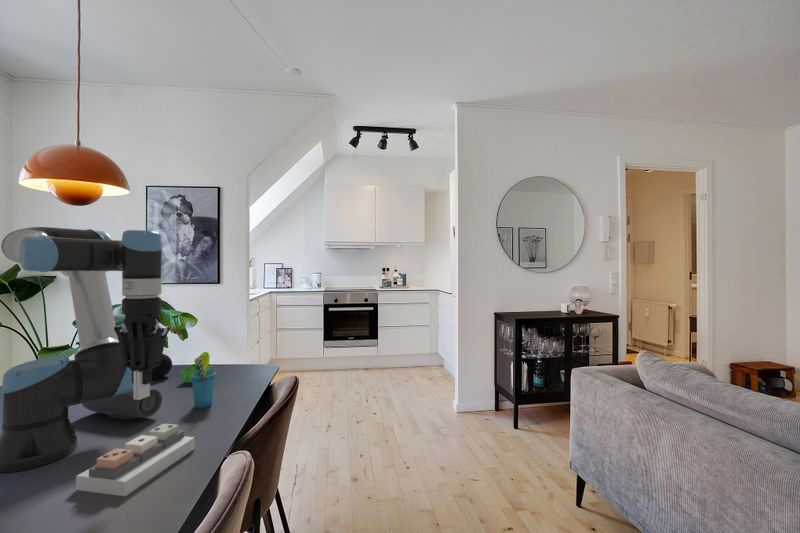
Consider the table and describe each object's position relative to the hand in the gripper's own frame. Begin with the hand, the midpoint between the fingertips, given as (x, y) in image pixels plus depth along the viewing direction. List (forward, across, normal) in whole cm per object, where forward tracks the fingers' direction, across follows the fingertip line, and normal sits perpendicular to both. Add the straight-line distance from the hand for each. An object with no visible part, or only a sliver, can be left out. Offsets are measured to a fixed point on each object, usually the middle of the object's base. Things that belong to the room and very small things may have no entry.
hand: (141, 397), depth 85 cm
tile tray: (+16, 0, 0) cm, 16 cm away
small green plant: (+17, -34, +61) cm, 72 cm away
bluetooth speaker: (+17, -31, +24) cm, 43 cm away
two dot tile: (+12, 0, +6) cm, 14 cm away
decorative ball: (+17, -52, +60) cm, 81 cm away
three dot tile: (+12, 0, -6) cm, 14 cm away
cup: (+17, -13, +37) cm, 43 cm away
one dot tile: (+12, 0, 0) cm, 12 cm away
